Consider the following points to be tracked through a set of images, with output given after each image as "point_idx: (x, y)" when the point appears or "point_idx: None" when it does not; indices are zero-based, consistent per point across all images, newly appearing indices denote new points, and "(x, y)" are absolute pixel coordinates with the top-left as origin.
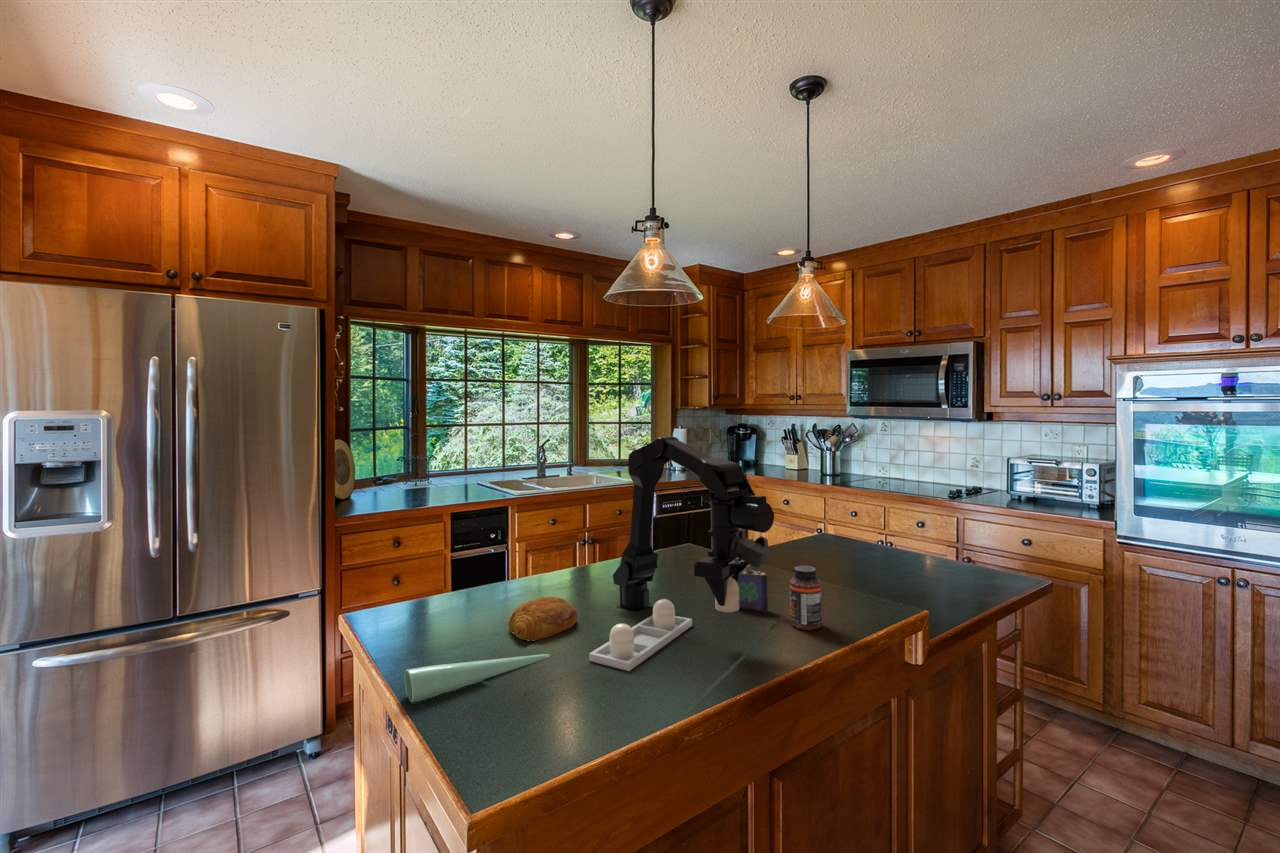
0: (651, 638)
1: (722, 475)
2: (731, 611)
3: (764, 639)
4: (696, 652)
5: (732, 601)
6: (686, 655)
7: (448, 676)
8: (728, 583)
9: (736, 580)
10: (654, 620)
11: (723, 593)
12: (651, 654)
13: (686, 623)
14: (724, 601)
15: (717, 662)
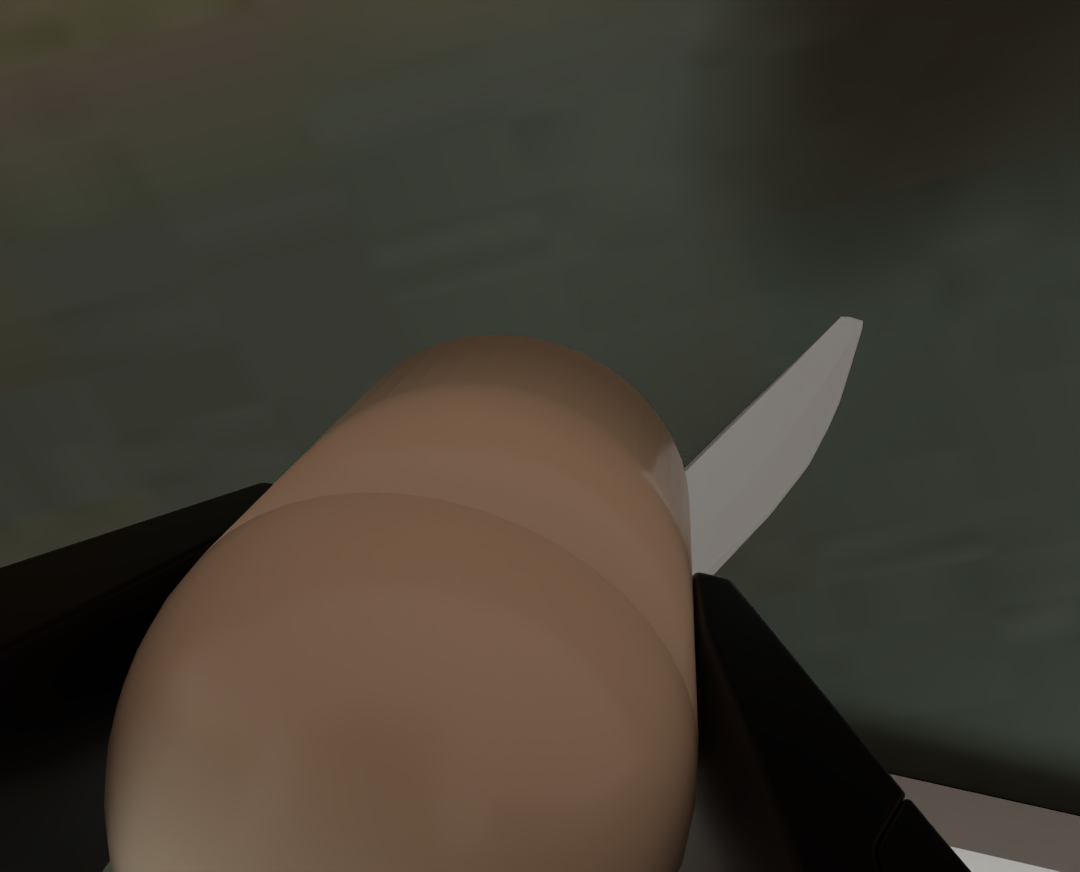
0: None
1: None
2: (657, 424)
3: (269, 43)
4: (753, 541)
5: (640, 484)
6: (829, 594)
7: None
8: (580, 861)
9: (27, 665)
10: None
11: (871, 771)
12: (932, 801)
13: None
14: (755, 618)
15: (921, 349)
